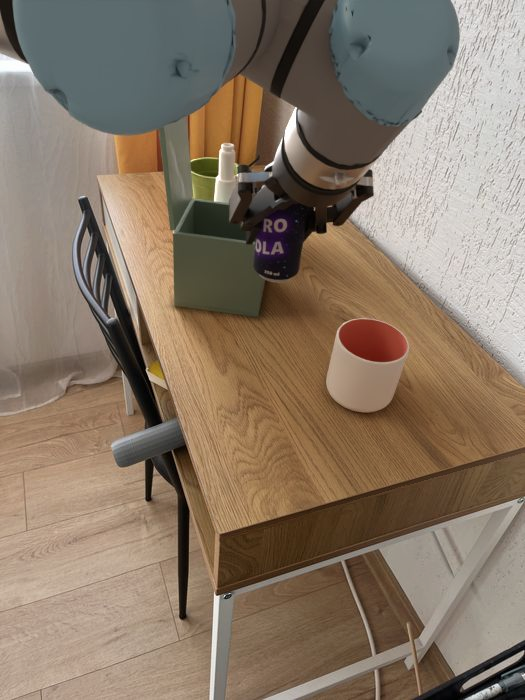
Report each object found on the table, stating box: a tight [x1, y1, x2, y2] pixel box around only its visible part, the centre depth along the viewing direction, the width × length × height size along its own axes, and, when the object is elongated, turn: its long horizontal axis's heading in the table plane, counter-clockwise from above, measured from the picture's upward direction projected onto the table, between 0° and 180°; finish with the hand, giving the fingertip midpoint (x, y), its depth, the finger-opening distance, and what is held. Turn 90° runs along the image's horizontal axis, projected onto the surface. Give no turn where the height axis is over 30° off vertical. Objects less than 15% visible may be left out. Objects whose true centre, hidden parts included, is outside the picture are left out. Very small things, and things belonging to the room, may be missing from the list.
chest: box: [172, 197, 266, 318], centre depth 91 cm, size 15×14×14 cm
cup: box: [325, 317, 410, 413], centre depth 75 cm, size 10×10×10 cm
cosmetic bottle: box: [214, 142, 236, 203], centre depth 98 cm, size 6×6×22 cm
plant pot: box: [190, 157, 240, 201], centre depth 114 cm, size 12×12×11 cm
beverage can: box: [253, 185, 309, 284], centre depth 62 cm, size 6×6×12 cm
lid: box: [158, 116, 194, 232], centre depth 82 cm, size 15×14×1 cm
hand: (273, 234), depth 66 cm, fingers closed on beverage can, 6 cm apart
